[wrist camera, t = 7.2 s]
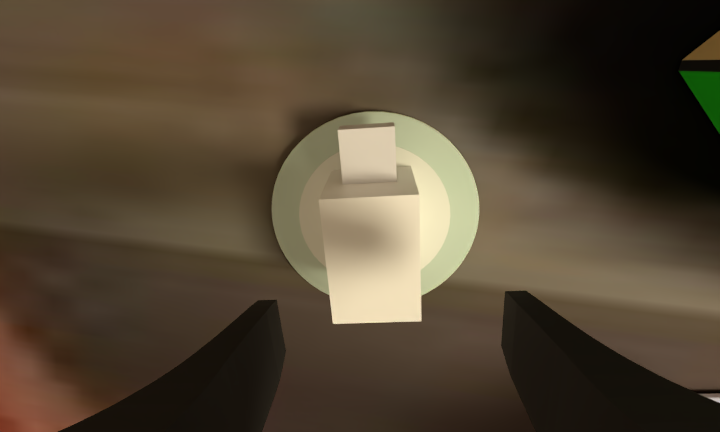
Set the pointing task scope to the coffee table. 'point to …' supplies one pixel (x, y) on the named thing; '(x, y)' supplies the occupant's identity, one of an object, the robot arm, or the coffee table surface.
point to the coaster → (413, 148)
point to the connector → (371, 230)
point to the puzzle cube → (705, 76)
